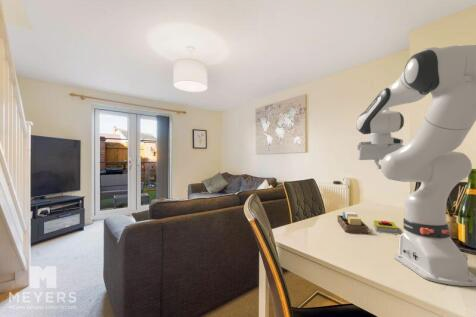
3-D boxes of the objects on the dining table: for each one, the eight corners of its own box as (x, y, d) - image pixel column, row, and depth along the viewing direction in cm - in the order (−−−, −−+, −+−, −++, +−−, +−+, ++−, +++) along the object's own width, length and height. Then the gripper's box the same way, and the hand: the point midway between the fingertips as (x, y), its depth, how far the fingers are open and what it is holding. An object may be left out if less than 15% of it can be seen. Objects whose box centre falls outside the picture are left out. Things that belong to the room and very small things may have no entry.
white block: (357, 221, 114) (357, 214, 114) (347, 221, 115) (347, 213, 115) (355, 219, 118) (355, 212, 118) (345, 219, 119) (345, 211, 119)
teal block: (354, 221, 120) (354, 214, 120) (344, 221, 121) (344, 213, 121) (352, 219, 124) (352, 212, 124) (342, 218, 125) (342, 212, 125)
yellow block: (361, 227, 108) (361, 219, 108) (350, 226, 109) (349, 218, 109) (358, 224, 112) (358, 216, 112) (348, 224, 113) (347, 216, 113)
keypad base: (368, 233, 106) (368, 226, 106) (345, 232, 108) (345, 225, 108) (356, 222, 125) (356, 216, 125) (337, 221, 127) (337, 215, 127)
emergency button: (375, 224, 108) (372, 216, 121) (376, 233, 108) (372, 224, 121) (398, 226, 104) (392, 218, 117) (399, 235, 103) (393, 226, 117)
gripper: (359, 141, 108) (359, 169, 108) (407, 139, 103) (407, 169, 103) (355, 142, 114) (356, 168, 114) (400, 140, 109) (401, 168, 109)
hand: (381, 168), depth 109 cm, fingers closed
